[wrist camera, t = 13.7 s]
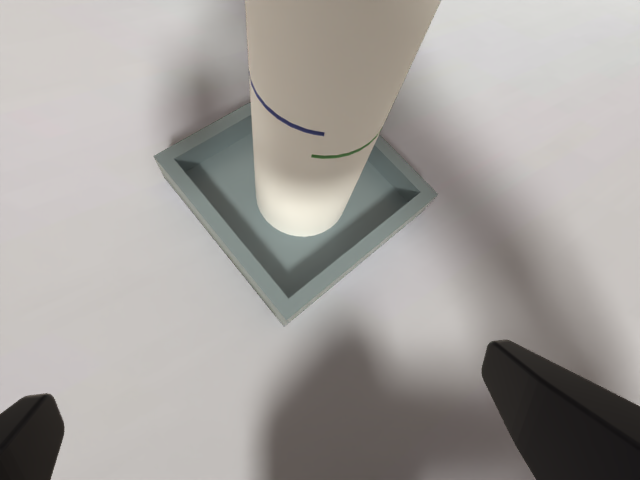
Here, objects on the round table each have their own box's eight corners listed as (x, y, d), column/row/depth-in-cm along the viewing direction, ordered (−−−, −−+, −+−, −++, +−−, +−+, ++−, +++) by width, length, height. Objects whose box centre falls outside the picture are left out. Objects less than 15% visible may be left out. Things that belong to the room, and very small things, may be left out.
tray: (423, 211, 31) (438, 194, 28) (284, 326, 26) (286, 320, 23) (309, 92, 34) (313, 67, 31) (164, 177, 29) (153, 156, 26)
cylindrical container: (272, 145, 30) (292, -599, 7) (354, 171, 31) (630, -472, 7) (242, 220, 28) (125, -575, 5) (333, 248, 28) (655, -377, 5)
